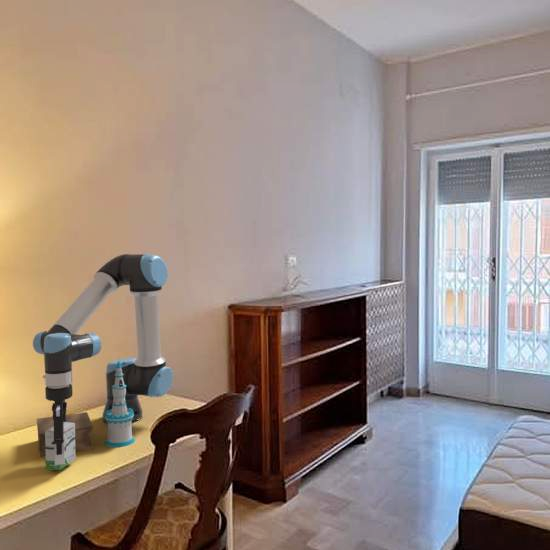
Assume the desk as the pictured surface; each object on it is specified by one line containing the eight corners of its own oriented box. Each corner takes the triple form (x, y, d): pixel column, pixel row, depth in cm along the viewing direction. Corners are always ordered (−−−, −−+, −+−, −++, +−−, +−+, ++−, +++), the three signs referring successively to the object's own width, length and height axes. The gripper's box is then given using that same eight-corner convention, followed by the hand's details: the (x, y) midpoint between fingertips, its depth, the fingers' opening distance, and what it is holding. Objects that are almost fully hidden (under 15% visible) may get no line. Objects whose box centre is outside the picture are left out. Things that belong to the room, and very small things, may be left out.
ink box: (59, 471, 152) (58, 431, 152) (44, 469, 153) (43, 430, 153) (76, 458, 161) (75, 421, 160) (62, 457, 162) (61, 420, 161)
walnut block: (87, 433, 187) (87, 412, 187) (93, 450, 172) (92, 426, 172) (37, 441, 180) (36, 418, 179) (38, 459, 165) (38, 434, 164)
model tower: (98, 444, 176) (97, 358, 174) (116, 434, 185) (115, 352, 184) (123, 448, 172) (121, 360, 171) (140, 438, 182) (139, 354, 180)
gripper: (48, 376, 165) (50, 445, 166) (41, 396, 144) (44, 474, 145) (73, 374, 167) (75, 442, 169) (70, 394, 146) (72, 470, 148)
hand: (61, 457), depth 157 cm, fingers closed on ink box, 9 cm apart
